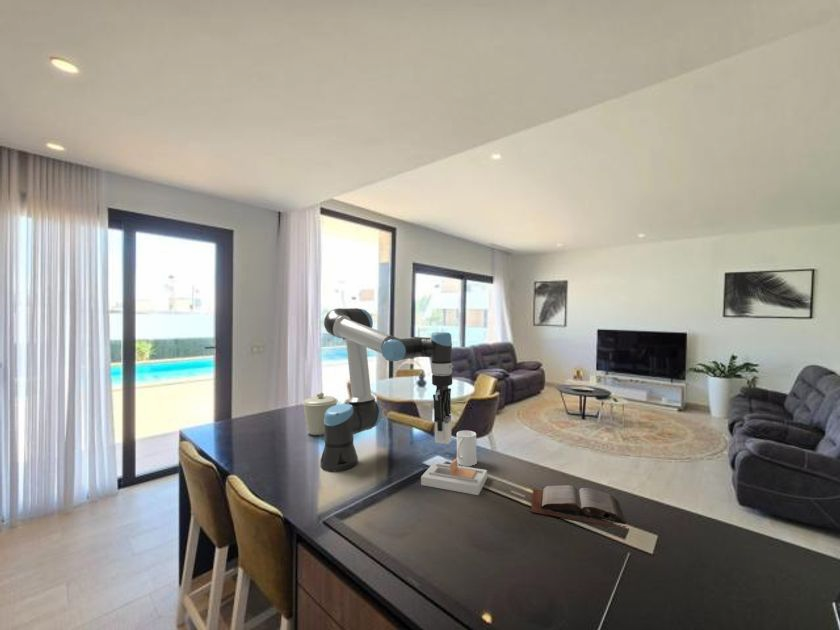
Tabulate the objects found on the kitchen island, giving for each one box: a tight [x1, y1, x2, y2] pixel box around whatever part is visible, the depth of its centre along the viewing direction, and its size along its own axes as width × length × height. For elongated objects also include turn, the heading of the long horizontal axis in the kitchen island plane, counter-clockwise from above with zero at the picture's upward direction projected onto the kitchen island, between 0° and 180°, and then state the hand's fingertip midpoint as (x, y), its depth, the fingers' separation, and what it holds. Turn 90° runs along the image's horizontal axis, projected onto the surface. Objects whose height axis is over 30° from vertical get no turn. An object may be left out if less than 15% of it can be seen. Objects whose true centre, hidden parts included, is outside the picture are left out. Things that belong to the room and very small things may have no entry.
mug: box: [456, 430, 478, 467], centre depth 152 cm, size 12×8×12 cm
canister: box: [301, 391, 339, 436], centre depth 193 cm, size 18×18×21 cm
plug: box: [434, 411, 452, 445], centre depth 137 cm, size 5×4×11 cm
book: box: [530, 484, 627, 529], centre depth 118 cm, size 20×28×4 cm
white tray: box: [420, 461, 488, 496], centre depth 136 cm, size 21×14×4 cm, turn 68°
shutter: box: [449, 458, 476, 479], centre depth 134 cm, size 8×7×4 cm
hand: (443, 437), depth 137 cm, fingers closed on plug, 4 cm apart
